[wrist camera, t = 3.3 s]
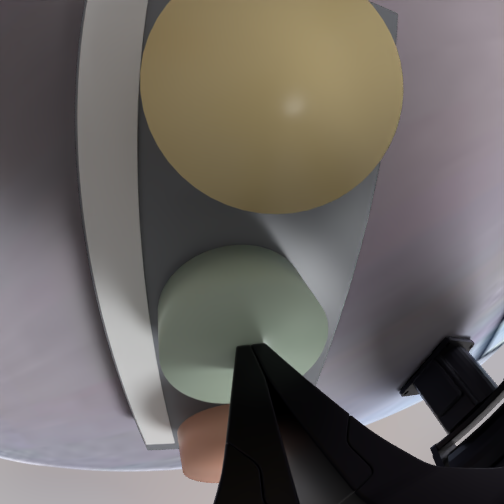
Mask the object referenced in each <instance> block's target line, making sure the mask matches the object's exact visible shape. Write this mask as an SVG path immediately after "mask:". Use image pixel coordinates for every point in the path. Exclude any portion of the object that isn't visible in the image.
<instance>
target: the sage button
mask: <svg viewBox="0 0 504 504" xmlns="http://www.w3.org/2000/svg"><path fill="white" fill-rule="evenodd" d="M327 337H328V320H327V317H326V314H325V312H324V310H323V308H322V306H321V305H320V303H319V302H318V300H317V299H316V297H315V296H314V295H313V293H312V292H311V290H310V289H309V287H308V286H307V284H306V283H305V281H304V280H303V278H302V277H301V276H300V274H299V273H298V271H297V270H296V268H295V267H294V266H293V265H292V264H291V263H290V262H289V261H288V260H287V259H286V258H285V257H283V256H282V255H280V254H278V253H277V252H274V251H272V250H270V249H267V248H263V247H260V246H253V245H230V246H224V247H219V248H215V249H212V250H209V251H206V252H204V253H202V254H200V255H198V256H196V257H194V258H192V259H191V260H189V261H188V262H186V263H185V264H184V265H182V266H181V267H180V268H179V269H178V270H177V271H176V272H175V273H174V274H173V275H172V276H171V277H170V279H169V280H168V282H167V283H166V284H165V286H164V288H163V290H162V292H161V295H160V299H159V303H158V342H159V361H160V366H161V370H162V372H163V374H164V376H165V377H166V379H167V380H168V381H169V383H170V384H171V385H172V386H173V387H174V388H176V389H177V390H179V391H180V392H181V393H183V394H185V395H187V396H189V397H192V398H194V399H197V400H201V401H205V402H210V403H220V404H230V398H231V389H232V379H233V370H234V362H235V353H236V347H237V346H241V345H250V346H251V345H252V344H258V343H265V344H267V345H268V346H269V347H270V348H271V349H272V350H274V351H275V352H276V353H277V354H278V355H279V356H280V357H282V358H283V359H284V360H285V361H286V362H287V363H288V364H290V365H291V366H292V367H293V368H294V369H295V370H297V371H298V372H299V373H300V374H301V375H302V376H303V375H304V374H305V373H306V372H307V371H308V370H309V369H310V368H311V367H312V366H313V365H314V363H315V362H316V361H317V359H318V358H319V356H320V355H321V353H322V351H323V349H324V347H325V344H326V341H327Z"/></svg>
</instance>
